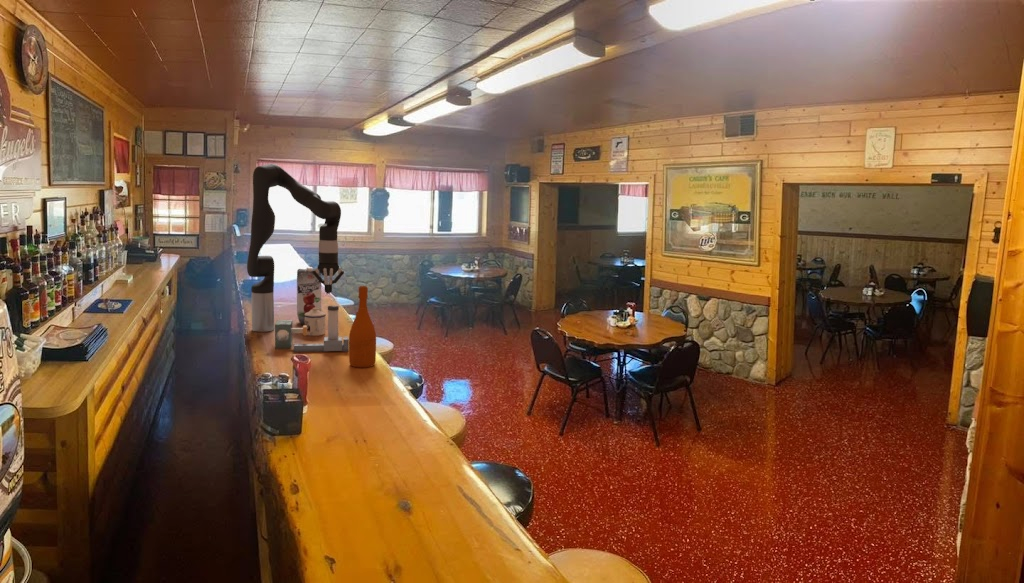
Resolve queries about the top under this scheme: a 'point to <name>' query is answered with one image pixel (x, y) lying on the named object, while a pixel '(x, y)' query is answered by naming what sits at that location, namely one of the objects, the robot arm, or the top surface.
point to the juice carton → (307, 292)
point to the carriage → (333, 331)
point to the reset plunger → (300, 330)
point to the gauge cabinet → (283, 334)
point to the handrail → (319, 347)
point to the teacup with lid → (315, 322)
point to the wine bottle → (362, 335)
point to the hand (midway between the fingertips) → (328, 293)
